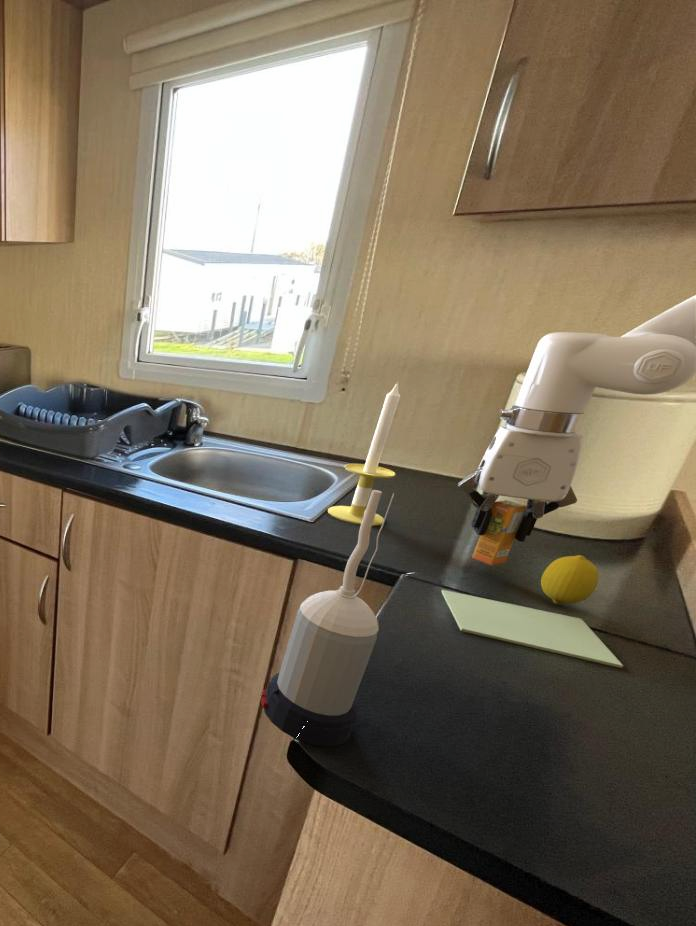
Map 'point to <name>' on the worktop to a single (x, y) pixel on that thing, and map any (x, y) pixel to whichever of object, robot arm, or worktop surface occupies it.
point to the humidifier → (326, 657)
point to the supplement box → (499, 532)
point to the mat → (528, 627)
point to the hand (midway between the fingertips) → (498, 534)
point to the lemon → (569, 579)
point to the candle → (370, 467)
